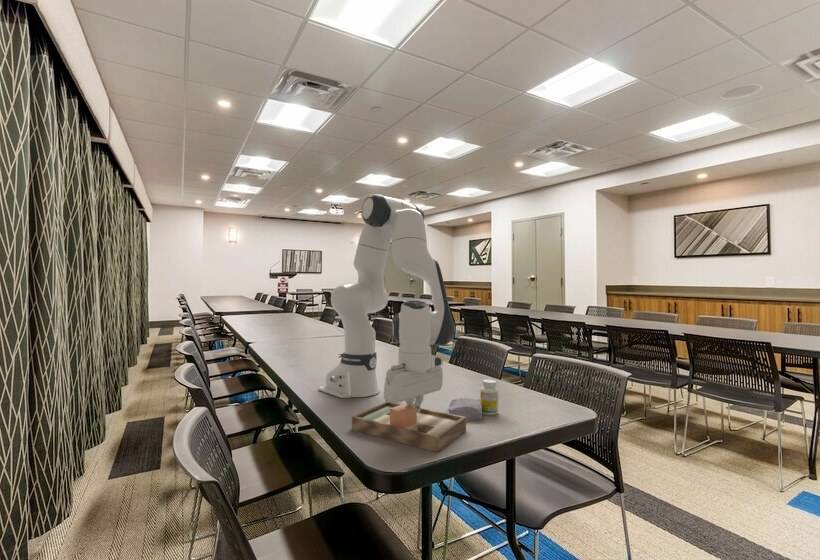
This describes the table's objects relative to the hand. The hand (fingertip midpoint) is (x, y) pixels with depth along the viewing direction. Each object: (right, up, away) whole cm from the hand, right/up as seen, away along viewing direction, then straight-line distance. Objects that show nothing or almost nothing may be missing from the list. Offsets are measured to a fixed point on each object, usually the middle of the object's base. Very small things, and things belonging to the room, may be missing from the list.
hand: (414, 412), depth 103 cm
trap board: (-1, -4, -1) cm, 4 cm away
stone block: (+15, -5, +13) cm, 21 cm away
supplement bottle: (+23, -5, +14) cm, 28 cm away
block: (-3, -2, -3) cm, 5 cm away
